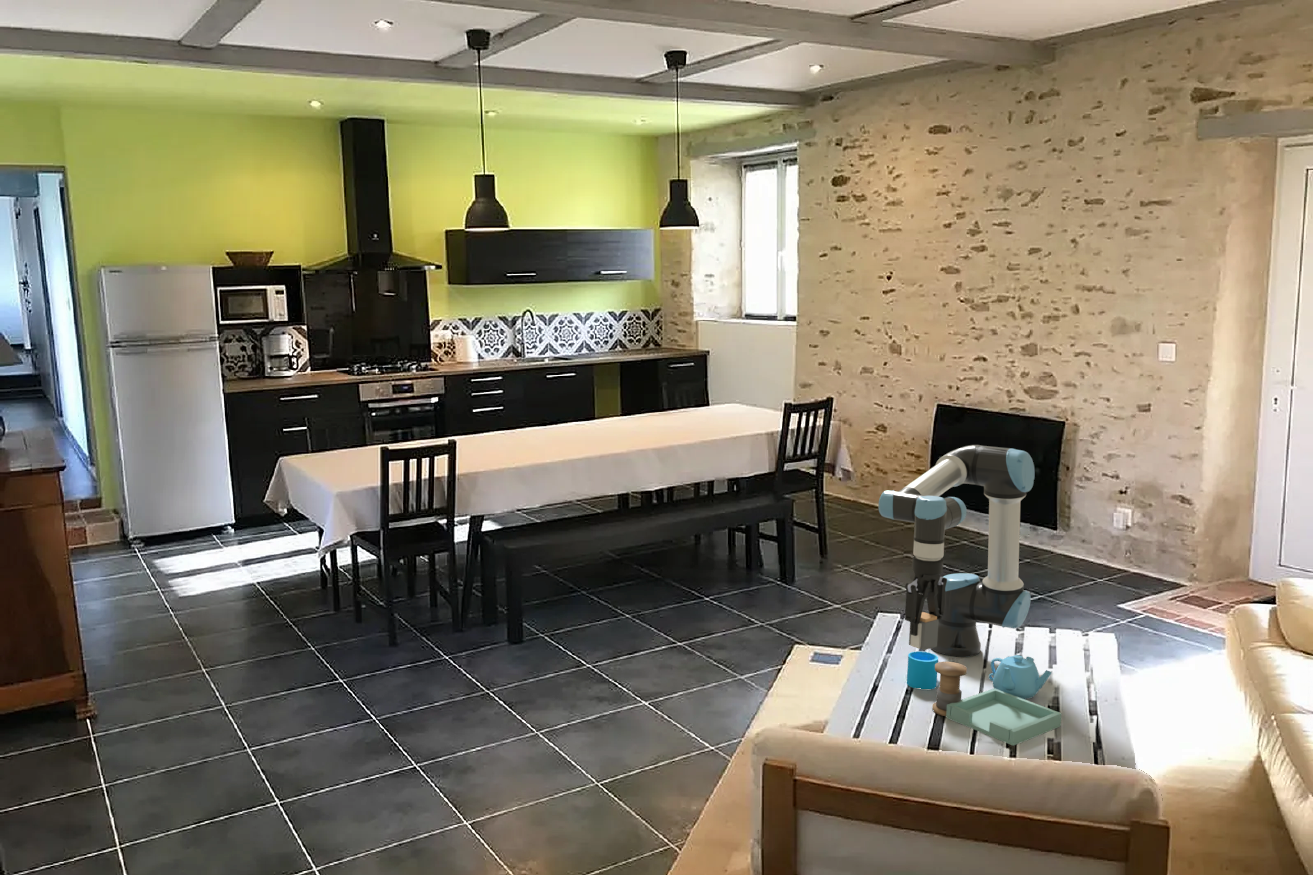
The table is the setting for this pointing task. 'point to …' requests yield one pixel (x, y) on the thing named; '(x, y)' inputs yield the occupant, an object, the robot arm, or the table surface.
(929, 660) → the mug
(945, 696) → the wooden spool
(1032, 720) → the pale green tray
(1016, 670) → the teapot
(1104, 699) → the table surface
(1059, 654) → the table surface
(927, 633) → the gray and orange block
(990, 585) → the robot arm
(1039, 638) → the table surface
